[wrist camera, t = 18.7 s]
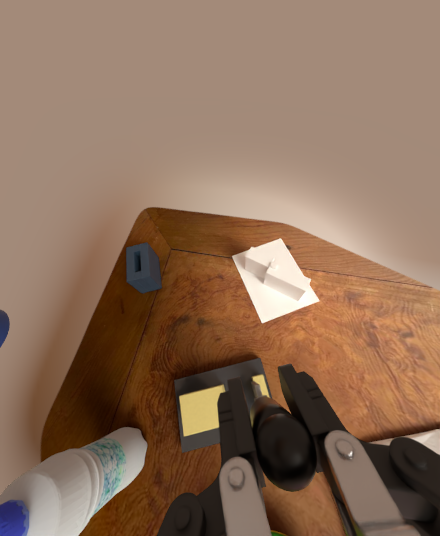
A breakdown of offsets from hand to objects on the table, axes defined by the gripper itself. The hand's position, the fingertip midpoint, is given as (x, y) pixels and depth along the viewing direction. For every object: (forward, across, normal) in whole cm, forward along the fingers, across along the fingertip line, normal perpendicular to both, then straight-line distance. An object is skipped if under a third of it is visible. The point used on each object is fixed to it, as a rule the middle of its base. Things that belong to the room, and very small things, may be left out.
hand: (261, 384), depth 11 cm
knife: (+9, 0, +12) cm, 15 cm away
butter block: (+15, +7, +18) cm, 24 cm away
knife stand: (+33, +15, +1) cm, 36 cm away
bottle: (+14, +20, +21) cm, 32 cm away
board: (+16, +5, +19) cm, 25 cm away
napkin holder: (+28, -9, +6) cm, 30 cm away
